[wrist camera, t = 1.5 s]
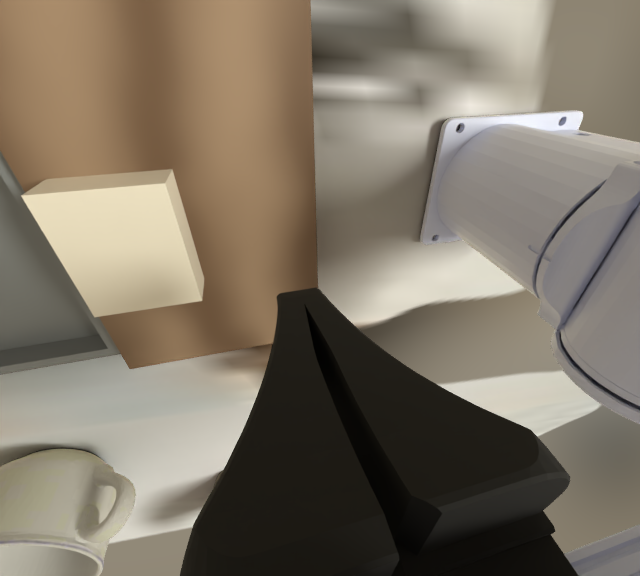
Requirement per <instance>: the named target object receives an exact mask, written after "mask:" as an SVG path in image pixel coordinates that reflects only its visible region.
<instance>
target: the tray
mask: <svg viewBox="0 0 640 576" xmlns="http://www.w3.org/2000/svg"><path fill="white" fill-rule="evenodd" d="M24 193H25V191H24V190H23V188H22V186H21V185H20V183H19V181H18V180H17V178H16V176H15V174H14V173H13V171H12V169H11V168H10V166H9V164H8V163H7V161H6V159H5V158H4V156H3V154H2V153H1V151H0V375H1V374H7V373H13V372H19V371H24V370H30V369H36V368H42V367H48V366H53V365H59V364H65V363H71V362H76V361H82V360H88V359H94V358H99V357H105V356H111V355H117V354H121V353H120V352H119V350H118V348H117V346H116V345H115V343H114V341H113V340H112V338H111V336H110V335H109V333H108V331H107V330H106V328H105V326H104V325H103V323H102V321H101V319H100V318H99V317H94V316H93V314H92V312H91V311H90V309H89V307H88V306H87V304H86V302H85V301H84V299H83V297H82V296H81V294H80V293H79V291H78V289H77V288H76V286H75V284H74V283H73V281H72V279H71V278H70V276H69V274H68V273H67V271H66V269H65V268H64V266H63V264H62V263H61V261H60V259H59V258H58V256H57V255H56V253H55V251H54V250H53V248H52V246H51V245H50V243H49V241H48V240H47V238H46V236H45V235H44V233H43V231H42V230H41V228H40V226H39V225H38V223H37V221H36V220H35V218H34V217H33V215H32V213H31V212H30V210H29V208H28V207H27V205H26V203H25V202H24V200H23V198H22V197H21V195H23V194H24Z"/></svg>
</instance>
